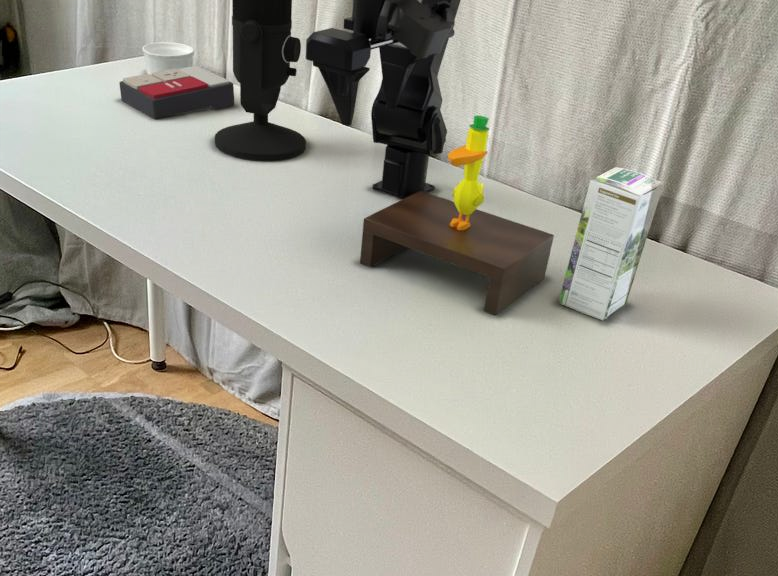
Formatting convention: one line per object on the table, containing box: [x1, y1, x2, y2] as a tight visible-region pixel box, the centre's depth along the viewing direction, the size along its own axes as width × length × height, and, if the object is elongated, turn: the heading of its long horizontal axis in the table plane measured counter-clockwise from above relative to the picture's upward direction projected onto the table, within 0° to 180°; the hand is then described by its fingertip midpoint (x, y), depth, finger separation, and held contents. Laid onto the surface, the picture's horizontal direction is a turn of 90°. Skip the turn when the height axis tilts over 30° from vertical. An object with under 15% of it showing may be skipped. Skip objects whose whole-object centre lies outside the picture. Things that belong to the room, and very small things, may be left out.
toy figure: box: [447, 115, 490, 230], centre depth 97 cm, size 7×4×12 cm, turn 135°
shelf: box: [359, 191, 555, 316], centre depth 102 cm, size 12×18×6 cm, turn 54°
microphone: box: [214, 0, 307, 162], centre depth 125 cm, size 14×14×25 cm
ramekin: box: [142, 41, 195, 75], centre depth 157 cm, size 9×9×4 cm
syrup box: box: [558, 166, 664, 321], centre depth 95 cm, size 6×6×14 cm
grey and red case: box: [118, 65, 235, 120], centre depth 144 cm, size 11×4×15 cm
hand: (369, 117), depth 105 cm, fingers open, 9 cm apart
